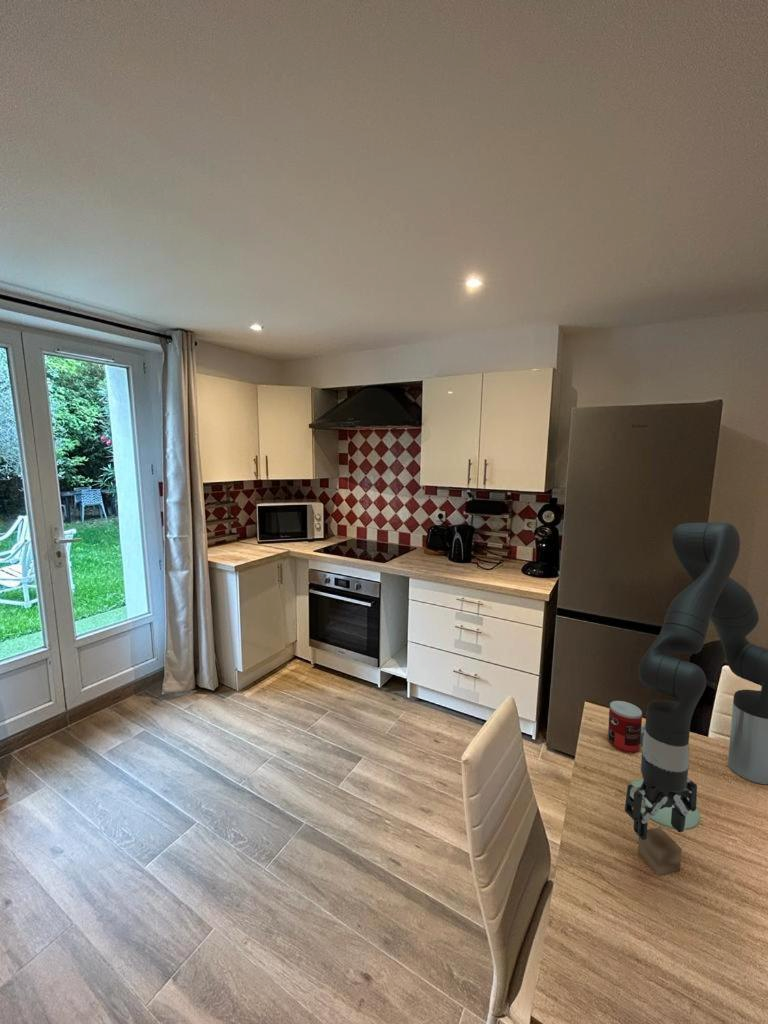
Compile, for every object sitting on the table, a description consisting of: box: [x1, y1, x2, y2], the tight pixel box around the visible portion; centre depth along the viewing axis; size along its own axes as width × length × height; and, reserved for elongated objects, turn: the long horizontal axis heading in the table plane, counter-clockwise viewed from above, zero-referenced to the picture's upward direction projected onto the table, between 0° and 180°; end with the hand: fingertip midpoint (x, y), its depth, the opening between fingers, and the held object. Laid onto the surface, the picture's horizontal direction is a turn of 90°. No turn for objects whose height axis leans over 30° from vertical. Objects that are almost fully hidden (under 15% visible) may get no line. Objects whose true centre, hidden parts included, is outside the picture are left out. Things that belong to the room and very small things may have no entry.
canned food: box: [607, 700, 643, 754], centre depth 118 cm, size 8×8×11 cm
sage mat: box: [630, 778, 701, 831], centre depth 98 cm, size 14×14×1 cm
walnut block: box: [637, 826, 682, 877], centre depth 83 cm, size 5×5×5 cm
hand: (658, 832), depth 83 cm, fingers open, 8 cm apart
